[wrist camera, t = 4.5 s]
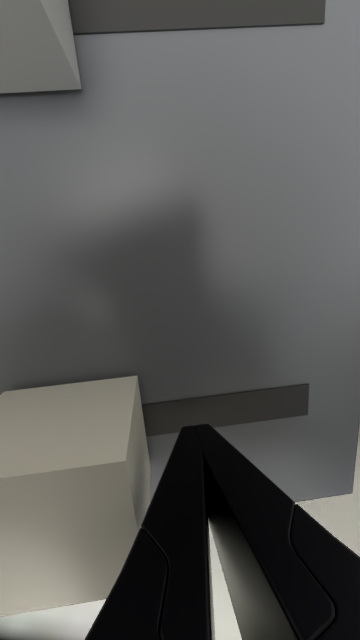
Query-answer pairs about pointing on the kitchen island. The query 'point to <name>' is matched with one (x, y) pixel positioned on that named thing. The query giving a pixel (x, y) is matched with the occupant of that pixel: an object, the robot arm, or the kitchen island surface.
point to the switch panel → (196, 227)
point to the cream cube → (69, 491)
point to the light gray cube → (37, 47)
